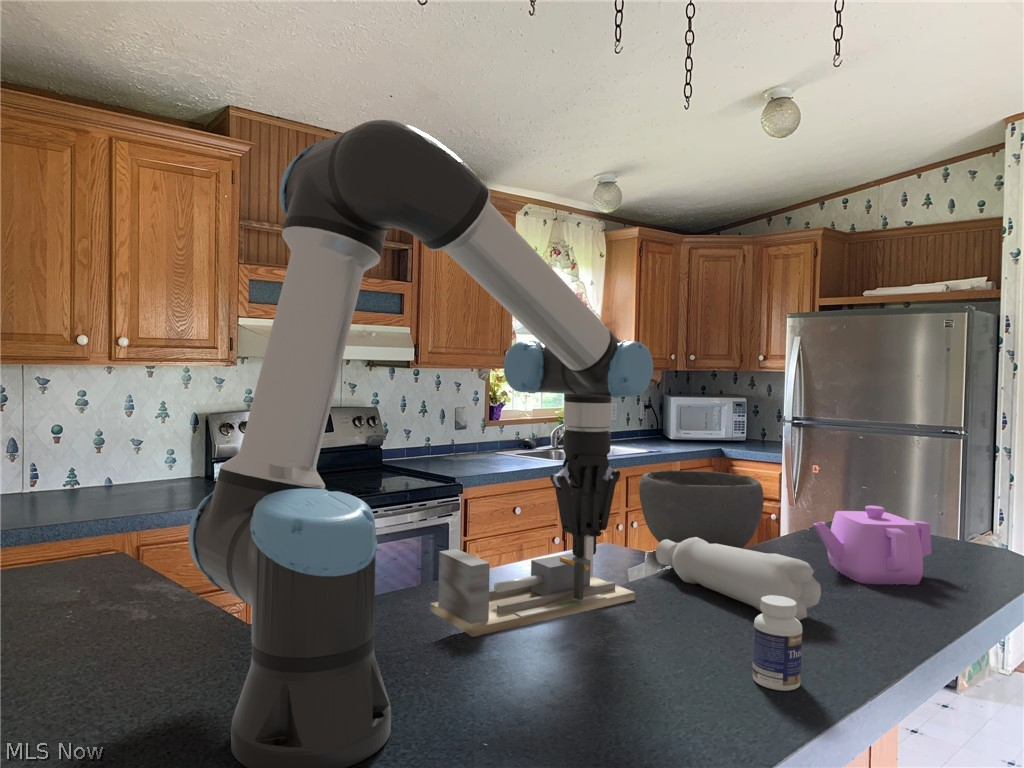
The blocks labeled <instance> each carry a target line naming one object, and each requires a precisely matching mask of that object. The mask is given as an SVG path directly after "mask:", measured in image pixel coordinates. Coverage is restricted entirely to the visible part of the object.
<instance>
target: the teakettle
mask: <svg viewBox="0 0 1024 768" xmlns="http://www.w3.org/2000/svg"><path fill="white" fill-rule="evenodd" d="M864 508H865V511H862V510H861V511H860V510H837V511H835V512H834V516H833V519H832V523H831V527H830V528H829V526H828V525H827V523H826V522H824V521H819V522H818V521H817V522H813V523H812V524H813V527H814V529H815V531H816V532H817V534H818V536H819V538H820V539H821V541H822V543H823V544H824V546H825V548H826V549H827V556H828V562H829V564H831V565H830V566H831V567H832V566H833V567H834V568H835V569H836V570H837V571H836V570H835V569H834V568H833V567H832V568H833V569H834V570H835V571H836V572H838V571H839V572H840V573H839V572H838V573H839V574H841V573H842V574H843V576H844V575H845V576H844V577H846V576H847V577H846V578H848V577H849V578H848V579H850V580H852V581H854V582H856V583H859V584H865V585H894V584H896V585H898V586H899V584H907V585H906V586H908V585H909V586H911V585H913V586H916V585H917V586H918V585H920V582H921V580H922V578H923V575H924V574H923V573H924V559H923V558H925V557H926V556H929V555H930V554H931V555H932V553H933V552H932V536H931V523H929V522H926V521H923V520H911V519H910V520H909V519H907V518H904V517H901V516H898V515H895V514H893V513H889V512H886V511H885V510H886V509H885V507H882V506H878V505H865V506H864ZM842 574H841V575H842ZM894 586H895V585H894Z"/></svg>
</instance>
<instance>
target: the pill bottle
mask: <svg viewBox="0 0 1024 768" xmlns="http://www.w3.org/2000/svg"><path fill="white" fill-rule="evenodd" d="M760 608H761V611H760V612H762V613H760V614H758V615H757V616H756V617H755V618H754V623H753V647H752V650H753V651H752V652H753V653H752V678H753V680H754V681H755V683H757V685H758V684H759V685H760V686H762V687H765V688H767V689H771V690H775V691H782V692H783V691H784V692H788V691H793V690H796V689H797V688H799V687H800V686H801V680H802V679H801V678H802V658H803V657H802V654H803V647H802V646H803V624H802V623H801V622H800V621H801V620H797V619H796V618H794V616H796V613H797V603H796V601H794V600H793V599H790V598H787V597H783V596H775V595H769V596H764V597H762V598H761V606H760Z"/></svg>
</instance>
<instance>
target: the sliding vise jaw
mask: <svg viewBox="0 0 1024 768" xmlns="http://www.w3.org/2000/svg"><path fill="white" fill-rule="evenodd" d="M575 562H581V563H584V578H583V587H587V586H590V560H588V559H585V558H582V557H577V556H574V555H573V553H566V554H561V555H555V556H554V555H553V556H548V557H543V558H542V557H541V558H536V559H532V560H530V576H524V577H520V578H514V579H507V580H504V581H498V582H495V583H494V584H493V589H495V591H496V592H502V591H507V590H512V589H518V588H523V587H528V586H531V591H532V592H535V593H537V594H539V595H541V596H543V595H548V594H553V593H558V592H563V591H568V590H573V589H574V566H575Z"/></svg>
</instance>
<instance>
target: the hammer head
mask: <svg viewBox="0 0 1024 768" xmlns="http://www.w3.org/2000/svg"><path fill="white" fill-rule="evenodd" d="M583 578H584V563H581V562H575V566H574V598H575V599H578V600H582V599H583Z"/></svg>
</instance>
